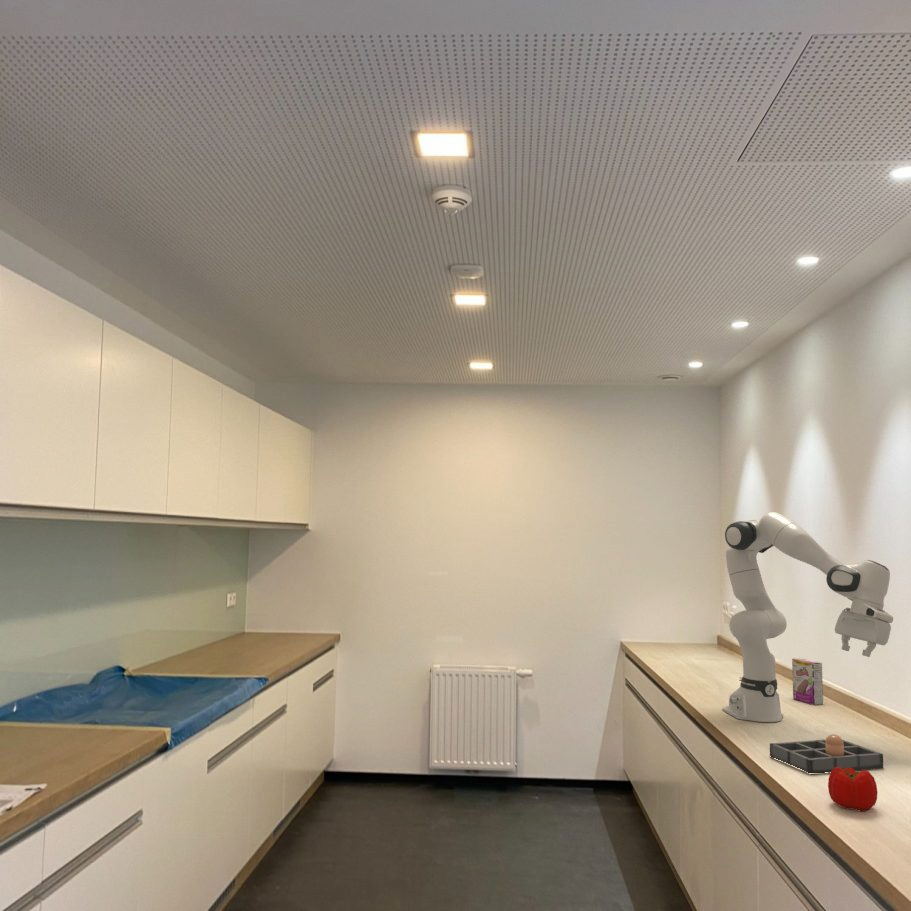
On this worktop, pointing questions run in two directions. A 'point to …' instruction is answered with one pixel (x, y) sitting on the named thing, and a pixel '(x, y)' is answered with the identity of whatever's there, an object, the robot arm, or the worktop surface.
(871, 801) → the tomato
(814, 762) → the egg carton
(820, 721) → the worktop surface
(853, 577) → the robot arm
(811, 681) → the candy bar box
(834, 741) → the terracotta egg
